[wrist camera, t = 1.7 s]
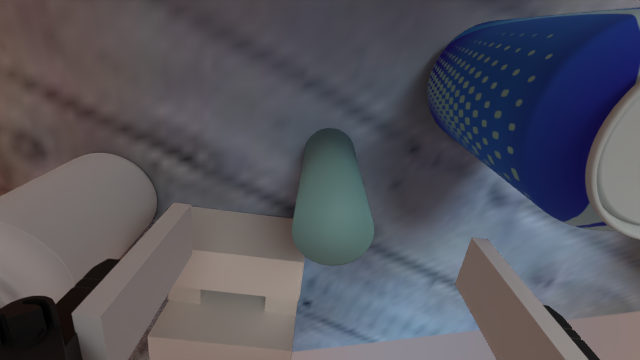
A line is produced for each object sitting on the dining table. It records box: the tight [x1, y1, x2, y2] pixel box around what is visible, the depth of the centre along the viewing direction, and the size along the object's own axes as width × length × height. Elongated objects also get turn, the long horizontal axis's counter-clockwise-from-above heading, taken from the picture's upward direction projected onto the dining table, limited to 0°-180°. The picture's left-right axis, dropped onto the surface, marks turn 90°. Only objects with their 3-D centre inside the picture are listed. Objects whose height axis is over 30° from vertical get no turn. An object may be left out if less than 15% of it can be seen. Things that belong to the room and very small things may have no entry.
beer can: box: [428, 7, 640, 240], centre depth 17 cm, size 8×8×16 cm
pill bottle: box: [0, 153, 157, 308], centre depth 22 cm, size 8×8×15 cm
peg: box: [292, 128, 374, 266], centre depth 22 cm, size 4×4×12 cm
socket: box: [147, 206, 305, 360], centre depth 29 cm, size 13×12×6 cm
